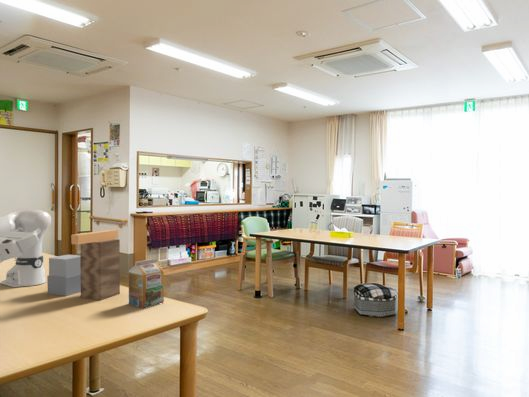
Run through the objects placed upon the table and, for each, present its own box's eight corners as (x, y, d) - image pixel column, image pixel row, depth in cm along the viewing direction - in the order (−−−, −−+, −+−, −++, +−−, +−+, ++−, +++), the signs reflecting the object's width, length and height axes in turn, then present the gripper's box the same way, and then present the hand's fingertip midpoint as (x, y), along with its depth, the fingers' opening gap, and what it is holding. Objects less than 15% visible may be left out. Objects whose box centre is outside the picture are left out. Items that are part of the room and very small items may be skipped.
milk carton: (149, 298, 183) (149, 257, 182) (163, 303, 176) (163, 260, 176) (128, 303, 175) (128, 260, 174) (142, 308, 168) (142, 263, 167)
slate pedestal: (47, 293, 191) (47, 258, 191) (68, 287, 202) (68, 254, 202) (66, 296, 187) (65, 259, 186) (86, 290, 198) (86, 255, 197)
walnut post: (80, 297, 184) (80, 241, 184) (100, 291, 196) (100, 238, 195) (100, 300, 180) (100, 242, 179) (119, 293, 191) (119, 239, 190)
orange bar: (71, 244, 174) (71, 234, 174) (111, 237, 197) (111, 229, 197) (78, 244, 173) (78, 235, 173) (118, 238, 195) (118, 230, 195)
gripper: (-14, 254, 154) (17, 235, 165) (21, 257, 146) (51, 237, 157) (-22, 240, 152) (10, 221, 163) (13, 242, 143) (45, 223, 154)
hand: (31, 229), depth 160 cm, fingers open, 8 cm apart
